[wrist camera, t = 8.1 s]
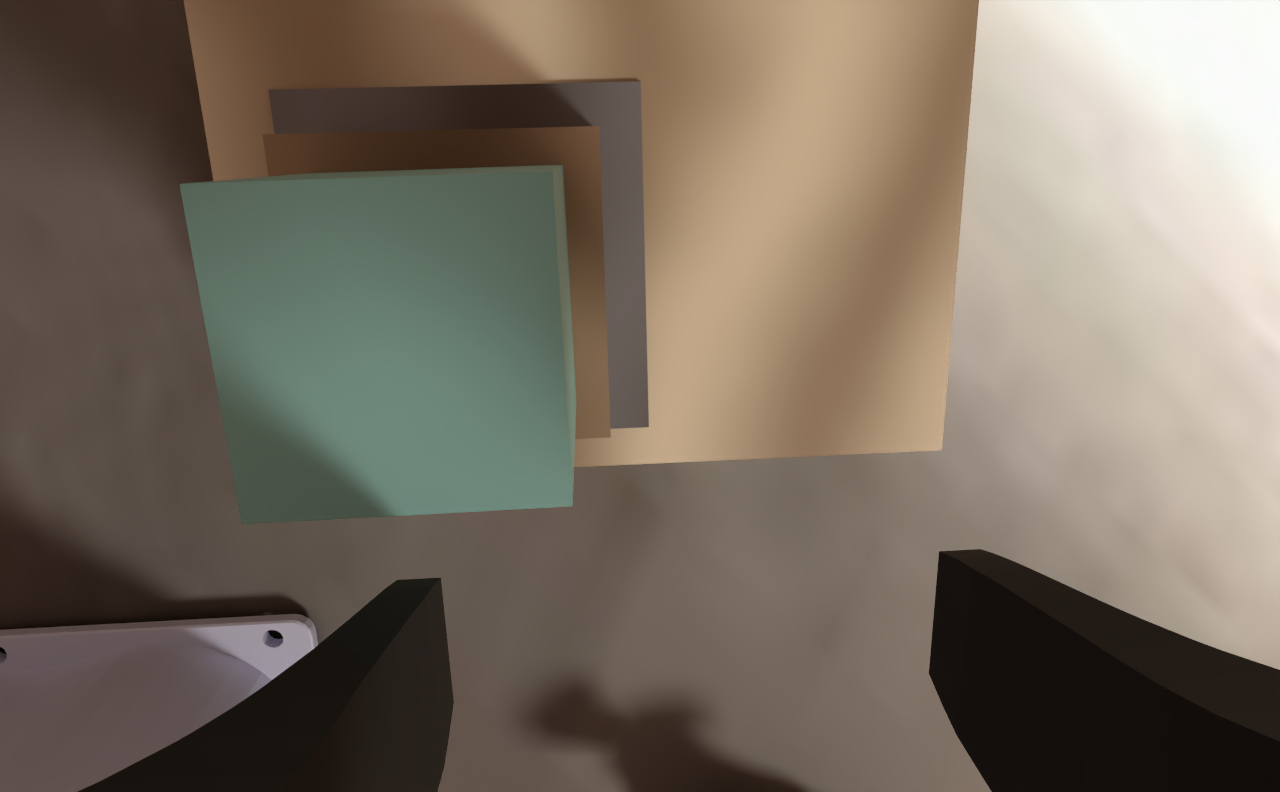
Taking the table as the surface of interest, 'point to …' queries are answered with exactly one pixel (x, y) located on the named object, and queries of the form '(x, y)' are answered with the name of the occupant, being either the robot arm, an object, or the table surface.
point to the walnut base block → (497, 150)
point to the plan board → (680, 185)
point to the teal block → (390, 339)
